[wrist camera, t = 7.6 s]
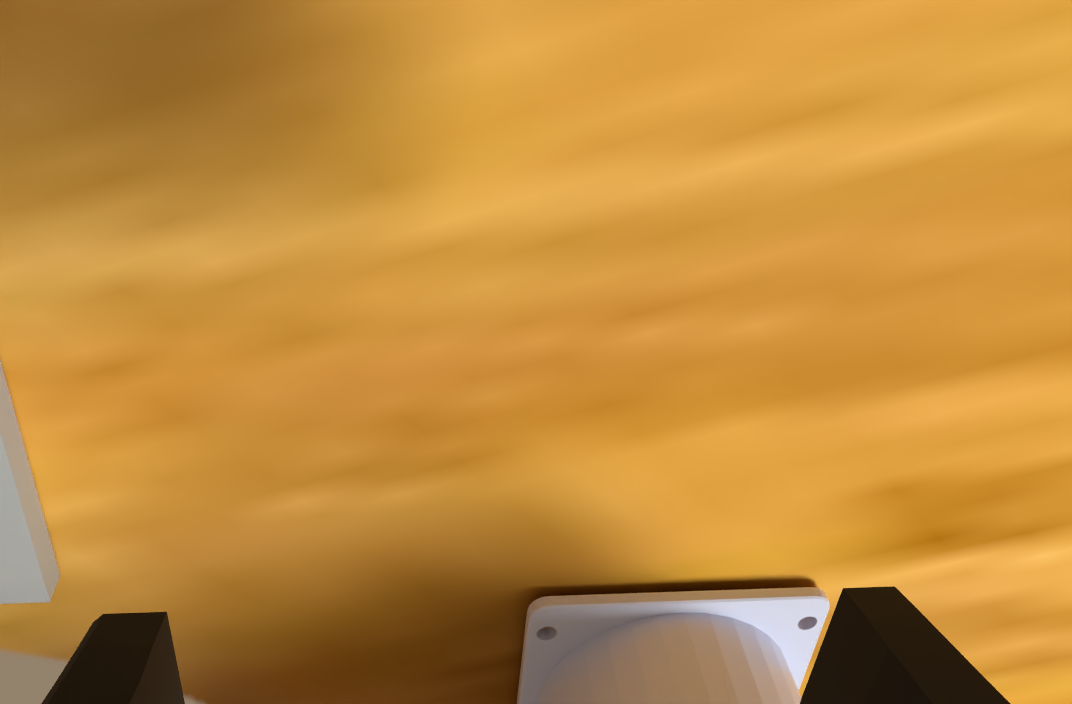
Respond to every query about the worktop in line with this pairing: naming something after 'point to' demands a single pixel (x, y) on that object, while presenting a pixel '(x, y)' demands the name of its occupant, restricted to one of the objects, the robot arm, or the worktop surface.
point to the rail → (21, 519)
